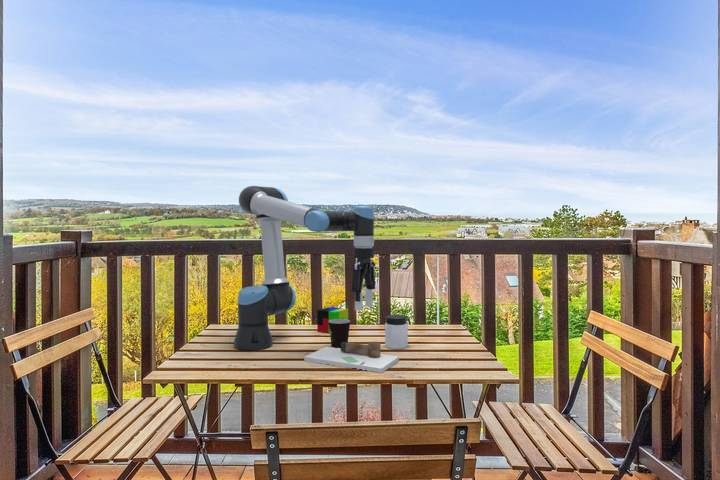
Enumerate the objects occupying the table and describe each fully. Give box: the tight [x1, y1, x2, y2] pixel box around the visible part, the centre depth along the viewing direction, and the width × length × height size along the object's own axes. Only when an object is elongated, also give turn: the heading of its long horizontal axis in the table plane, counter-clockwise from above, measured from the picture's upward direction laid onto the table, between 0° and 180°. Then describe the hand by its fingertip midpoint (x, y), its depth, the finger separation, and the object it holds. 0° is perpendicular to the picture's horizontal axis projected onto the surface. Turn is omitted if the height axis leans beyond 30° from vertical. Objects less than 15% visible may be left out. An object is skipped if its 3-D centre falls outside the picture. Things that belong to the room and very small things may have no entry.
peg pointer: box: [340, 341, 381, 357], centre depth 164 cm, size 15×4×4 cm, turn 63°
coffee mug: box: [329, 319, 351, 349], centre depth 182 cm, size 12×9×10 cm
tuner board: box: [303, 346, 400, 374], centre depth 161 cm, size 30×15×2 cm, turn 63°
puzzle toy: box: [316, 306, 349, 335], centre depth 207 cm, size 10×10×10 cm
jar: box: [384, 314, 409, 350], centre depth 180 cm, size 9×8×12 cm
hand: (363, 308), depth 169 cm, fingers open, 8 cm apart
